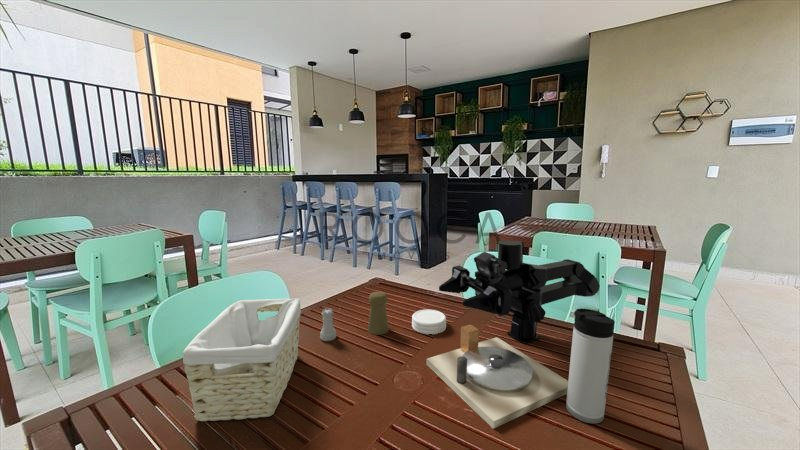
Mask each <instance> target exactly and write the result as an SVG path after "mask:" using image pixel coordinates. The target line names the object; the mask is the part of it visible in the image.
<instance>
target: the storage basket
mask: <svg viewBox="0 0 800 450" xmlns="http://www.w3.org/2000/svg"><path fill="white" fill-rule="evenodd" d="M301 311H302V310H301V298H298V297H297V298H296V297H294V298H270V299H268V298H267V299H266V298H264V299H242V300H238V301H235V302H234V303H231V305H229V306H228V307H227V308H225V309H224V310H223V311H222V312H220V313H219V315H217V316H216V317H215V318H214V319H213V320H212V321H211V322H210V323H209V324H207V326H206V327H204V328H203V329H202V330H201V331H200V332H199V333H198V334H196V336H195V337H193V339H191V341H190V342H189V344H187V346H186V347H185V349H184V350H183V352H182V355H183V356H182V359H183V360H182V363H183V365H184V367H183V369H184V372H185V374H186V378H187V381H188V385H189V388H188V389H189V393H190V397H191V403H192V408H193V413H194V415H193V418H195V421H200V422H208V421H212V422H214V421H215V422H216V421H230V420H239V421H240V420H245V419H258V418H267V417H271V416H272V415H274V414H275V411H276V409H277V407H278V405H279V404H280V400H281V399H282V398H283V394H284V392H285V390H286V389H287V386H288V382H289V381H290V379H291V376H292V373H293V372H294V367H295V364H296V362H297V360H298V354H299V346H298V345H299V342H300V339H299V338H300V321H301V319H300V318H301V313H302V312H301ZM259 312H260V313H264V312H277V313H276V315H273V316H271V317H267V318H266V319H263V320H259V314H258V313H259Z"/></svg>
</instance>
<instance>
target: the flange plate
mask: <svg viewBox="0 0 800 450" xmlns="http://www.w3.org/2000/svg"><path fill="white" fill-rule="evenodd" d="M460 327H461V328H460V346H459V347H460V348H459V349H462V350H463V351H464V352H465V353H464V354H463V356H462V357H465V358H467V378H468V379H469V380H470V381H472V382H473V383H475V384H477V385H479V386H481V387H483V388H486V389H489V390H493V391H499V392H514V391H519V390H522V389H524V388H526V387H527V386H528V385H529V384H530V383H531V381H532V374H533V371H532V367H531V365H530V364H529V363H528V362H527V361H526V360H525V359H524V358H523V357H521V356H520V355H518V354H516V353H514V352H512V351H509V350H506V349H503V348H498V347H478V343H479V338H480V337H479V335H480V328H478V327H475V325H473V324H466V325H464V326H460Z"/></svg>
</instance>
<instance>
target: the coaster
mask: <svg viewBox="0 0 800 450" xmlns="http://www.w3.org/2000/svg"><path fill="white" fill-rule="evenodd" d="M411 328H412V329H413V330H414V331H416V332H417V333H418V334H419V333H420V334H423V335H429V334H432V335H438V333H439V334H441V333H443V332H444V331H446V328H447V315H445V314H444V313H443V312H441V311H439V310H436V309H420V310H417V311H415V312H413V314H412V316H411Z"/></svg>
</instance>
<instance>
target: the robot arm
mask: <svg viewBox="0 0 800 450" xmlns="http://www.w3.org/2000/svg"><path fill="white" fill-rule="evenodd" d="M497 246H498V247H497V249H498V250H497V251H498V252H497V257H496V256H495V255H494V254H492V253H489V252H487V251H483V252H481V253H479V254H478V255H477V256H474V257H473V261H474V263H475V266H476V269H477V271H475V272H474V277H475V278H474V277H472V276H471V272H470V271H469V269H468V268H465V267H463V266H461V265H455V266H452V268H451V269H452V270H451V277H449V278H448V280H446V281H444V282H442V284H440V285H438V290H439V291H440V292H445V293H452V294H453V293H454V294H461V293H466V292H467V291H468V290H469V289H470V288H471V289H473V290H474V296H471V297H468V298H465V299H464V300H463V301H462V306H463V307H465V308H466V307H467V308H471V309H475V310H480V311H482V312H483V311H484V312H487V313H491V314H492V315H498V316H499V317H504V316H507V315H509V313H512V316H511V322H510V323H511V324H510V330H507V332H506V334H507V335H509V336H510V337H512V338H513V339H516V340H517V341H519V342H521V343H522V344H525V345H526V344H528V343H531V342H535V341H537V340H539V339H541V338H542V337H541V335H539V334H538V333H537V326H538V323H541V321H542V320H545V316H546V310H545V309H544V308H543V307H542V306H543V305H546V304H550V303H552V302H556V301H559V300H562V299H566V298H569V297H572V296H573V297H574V296H578V297H586V298H587V297H588V298H589V297H593V296H595V295H596V294H597V293H599V290H600V287H601V285H600V283H599V281H598V278H597V277H596V276H595V275H594V274H593V273H592V272H590V271H589V270H588V269H586V267H585V266H584V265H583V263H581V262H580V261H576V260H572V259H564V260H559V261H555V262H550V263H545V264H543V263H542V264H532V263H527V262H526V263H525V262H524V261H523V260H524V258H523V257H524V248H525V242H524V241H520V240H516V241H514V240H505V239H502V240H499V241H498V245H497ZM559 279H563V280H560V281H556V282H552V283H550V284H547V283H548V282H549V281H554V280H559Z"/></svg>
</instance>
